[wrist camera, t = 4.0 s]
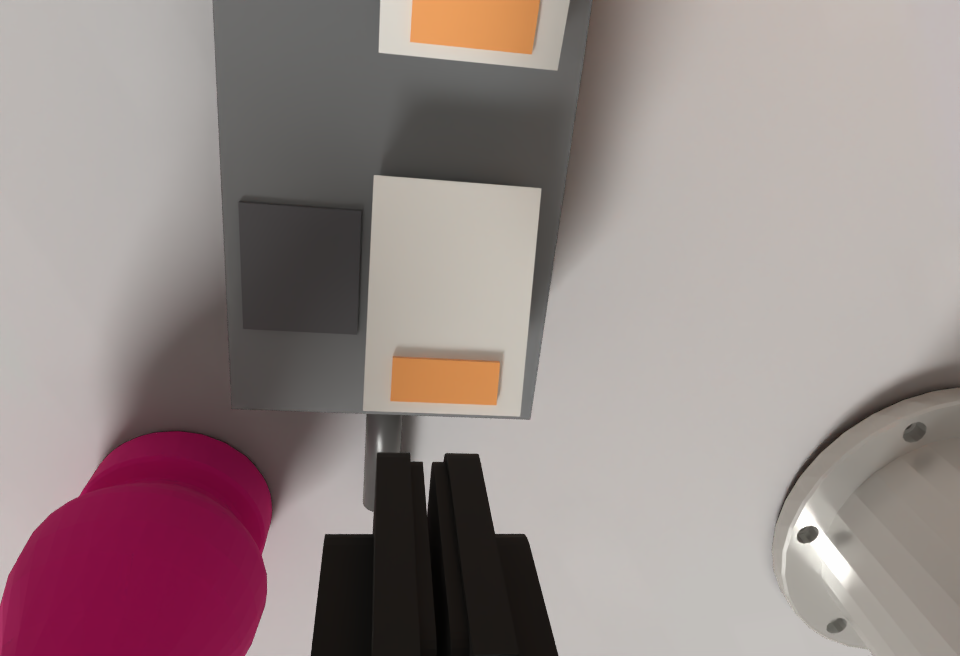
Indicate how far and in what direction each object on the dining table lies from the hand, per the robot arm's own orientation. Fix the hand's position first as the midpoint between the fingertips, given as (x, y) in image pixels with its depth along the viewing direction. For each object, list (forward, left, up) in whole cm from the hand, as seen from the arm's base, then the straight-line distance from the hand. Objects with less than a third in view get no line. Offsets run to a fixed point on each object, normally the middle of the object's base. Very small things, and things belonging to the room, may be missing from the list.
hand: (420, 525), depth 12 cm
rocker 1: (-1, -2, -6) cm, 7 cm away
